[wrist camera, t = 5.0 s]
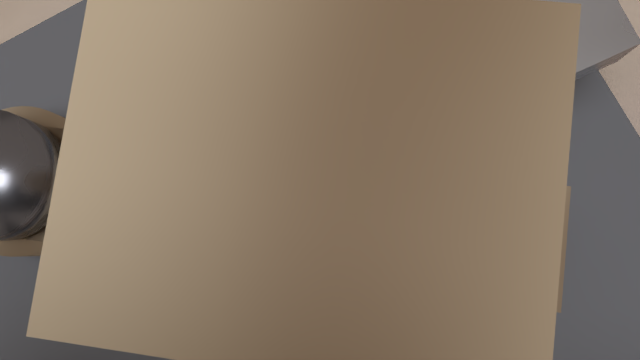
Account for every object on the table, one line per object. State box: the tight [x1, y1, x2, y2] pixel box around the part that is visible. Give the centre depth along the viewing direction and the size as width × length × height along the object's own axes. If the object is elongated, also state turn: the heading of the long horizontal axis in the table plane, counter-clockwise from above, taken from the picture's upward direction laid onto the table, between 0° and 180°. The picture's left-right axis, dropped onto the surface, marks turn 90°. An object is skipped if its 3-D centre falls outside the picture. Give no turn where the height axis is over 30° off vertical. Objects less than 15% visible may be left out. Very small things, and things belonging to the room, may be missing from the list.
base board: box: [0, 0, 640, 360], centre depth 16 cm, size 22×19×1 cm
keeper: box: [0, 0, 640, 241], centre depth 14 cm, size 14×16×4 cm
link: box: [0, 0, 581, 360], centre depth 10 cm, size 16×4×10 cm, turn 83°
